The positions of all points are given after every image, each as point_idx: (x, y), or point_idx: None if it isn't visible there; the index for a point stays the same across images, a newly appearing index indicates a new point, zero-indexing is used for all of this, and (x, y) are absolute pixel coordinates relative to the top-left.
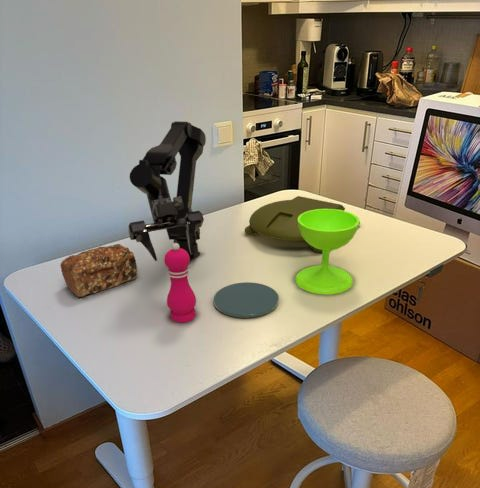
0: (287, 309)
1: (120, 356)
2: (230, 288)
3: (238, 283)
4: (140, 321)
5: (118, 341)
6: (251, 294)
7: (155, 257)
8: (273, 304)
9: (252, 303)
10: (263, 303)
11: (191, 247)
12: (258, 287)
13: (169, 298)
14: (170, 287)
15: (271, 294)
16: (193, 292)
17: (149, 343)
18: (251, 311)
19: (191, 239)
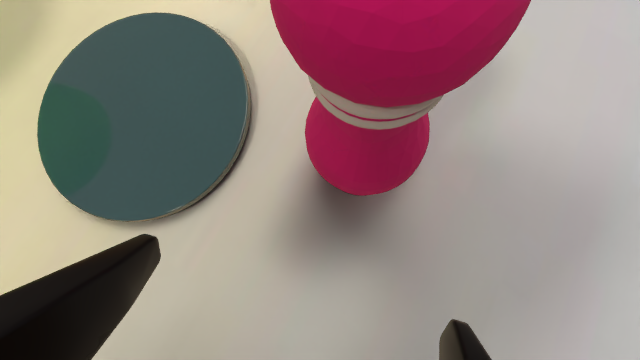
0: (92, 17)
1: (631, 60)
2: (138, 195)
3: (94, 210)
4: (507, 210)
5: (617, 138)
6: (113, 118)
7: (469, 337)
8: (105, 32)
9: (148, 70)
10: (123, 51)
11: (109, 257)
12: (64, 143)
13: (428, 118)
14: (417, 124)
15: (67, 83)
16: (314, 100)
17: (523, 75)
18: (180, 33)
19: (11, 307)
